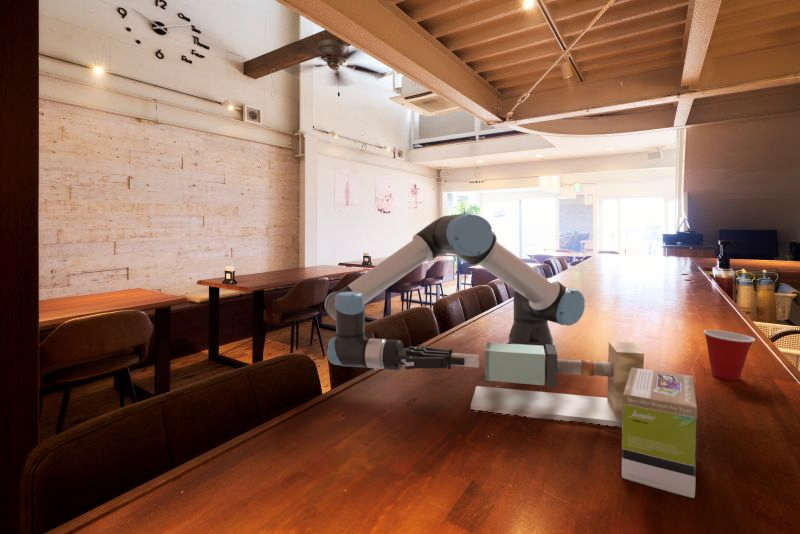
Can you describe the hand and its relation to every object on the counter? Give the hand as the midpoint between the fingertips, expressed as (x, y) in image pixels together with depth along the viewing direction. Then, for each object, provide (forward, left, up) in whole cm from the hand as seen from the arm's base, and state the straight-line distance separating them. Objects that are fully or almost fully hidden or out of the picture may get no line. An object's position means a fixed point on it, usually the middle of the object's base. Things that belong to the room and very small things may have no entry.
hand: (478, 361), depth 95 cm
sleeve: (+6, +5, -3) cm, 9 cm away
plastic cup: (+31, +63, -10) cm, 71 cm away
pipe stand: (+13, +10, -10) cm, 19 cm away
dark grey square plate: (+13, +10, -4) cm, 17 cm away
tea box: (+37, +4, -10) cm, 39 cm away
